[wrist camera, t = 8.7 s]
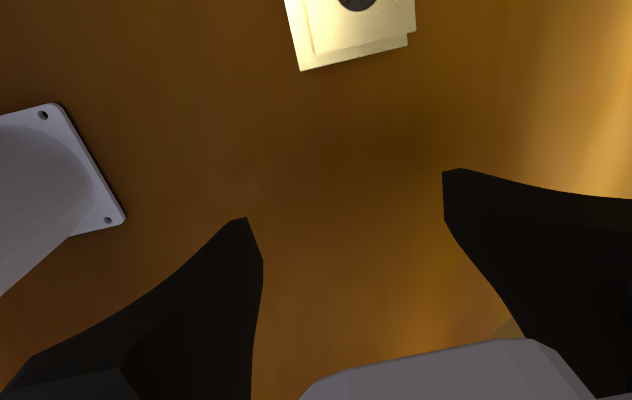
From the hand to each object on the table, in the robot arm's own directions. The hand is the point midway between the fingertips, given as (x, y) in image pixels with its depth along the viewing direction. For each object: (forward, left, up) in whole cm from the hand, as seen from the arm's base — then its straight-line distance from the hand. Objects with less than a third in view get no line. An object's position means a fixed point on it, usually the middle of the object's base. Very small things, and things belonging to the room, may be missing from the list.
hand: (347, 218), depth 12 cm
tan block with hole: (+2, +7, -9) cm, 12 cm away
